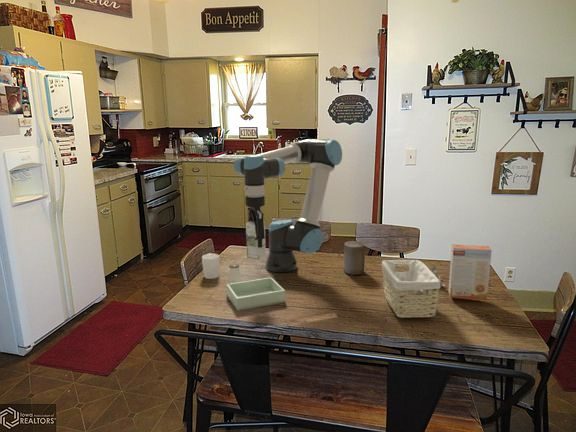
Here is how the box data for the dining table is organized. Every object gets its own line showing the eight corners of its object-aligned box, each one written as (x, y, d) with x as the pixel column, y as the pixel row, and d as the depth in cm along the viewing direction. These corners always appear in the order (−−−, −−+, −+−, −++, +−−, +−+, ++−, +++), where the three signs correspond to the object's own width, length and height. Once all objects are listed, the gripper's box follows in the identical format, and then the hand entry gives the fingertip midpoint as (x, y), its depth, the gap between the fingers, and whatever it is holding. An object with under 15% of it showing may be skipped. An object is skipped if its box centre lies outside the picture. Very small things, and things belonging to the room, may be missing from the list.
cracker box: (484, 294, 168) (489, 245, 164) (487, 300, 163) (492, 250, 158) (447, 291, 172) (451, 243, 167) (449, 297, 166) (453, 247, 161)
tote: (271, 288, 176) (271, 277, 175) (285, 302, 162) (285, 290, 161) (226, 295, 169) (226, 284, 168) (237, 311, 155) (236, 298, 154)
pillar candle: (367, 270, 197) (368, 240, 194) (359, 276, 189) (360, 245, 186) (348, 266, 202) (349, 237, 199) (340, 272, 194) (340, 242, 191)
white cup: (216, 280, 186) (215, 259, 183) (200, 279, 187) (199, 258, 185) (222, 274, 193) (221, 254, 191) (206, 273, 195) (205, 253, 192)
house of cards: (453, 284, 179) (454, 268, 178) (436, 287, 177) (438, 270, 175) (439, 277, 188) (440, 261, 186) (423, 280, 185) (424, 264, 183)
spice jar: (238, 283, 182) (238, 262, 180) (242, 287, 178) (241, 266, 176) (227, 284, 180) (227, 264, 178) (230, 289, 176) (229, 267, 174)
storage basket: (439, 319, 147) (442, 280, 144) (394, 320, 147) (396, 281, 144) (417, 292, 171) (420, 259, 168) (379, 293, 171) (380, 259, 167)
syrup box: (266, 255, 166) (265, 221, 163) (258, 260, 161) (257, 224, 158) (254, 254, 168) (253, 219, 165) (246, 258, 163) (245, 222, 160)
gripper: (239, 192, 167) (241, 245, 172) (252, 201, 148) (254, 260, 153) (256, 190, 170) (258, 243, 175) (272, 199, 151) (273, 258, 156)
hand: (256, 251), depth 164 cm, fingers closed on syrup box, 8 cm apart
